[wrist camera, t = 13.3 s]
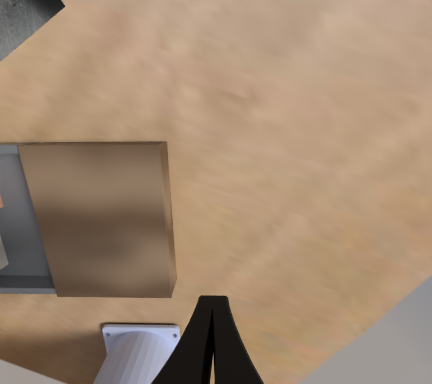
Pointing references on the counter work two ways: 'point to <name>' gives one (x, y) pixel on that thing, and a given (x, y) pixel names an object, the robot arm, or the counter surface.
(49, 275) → the charcoal tray
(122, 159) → the walnut board
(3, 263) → the pale grey cube
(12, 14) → the meat cleaver
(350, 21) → the counter surface
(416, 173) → the counter surface
